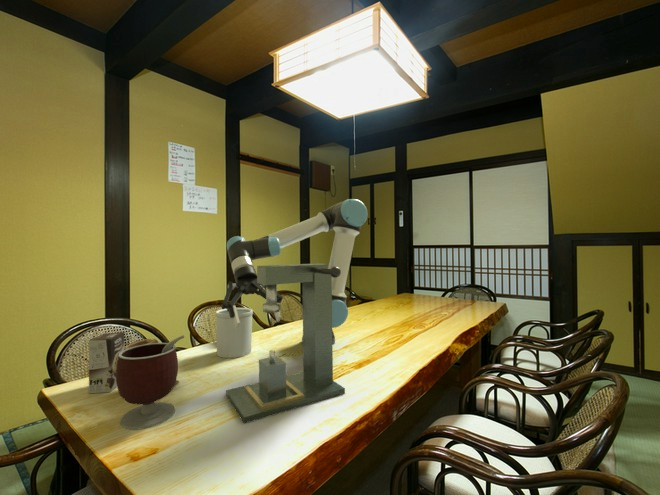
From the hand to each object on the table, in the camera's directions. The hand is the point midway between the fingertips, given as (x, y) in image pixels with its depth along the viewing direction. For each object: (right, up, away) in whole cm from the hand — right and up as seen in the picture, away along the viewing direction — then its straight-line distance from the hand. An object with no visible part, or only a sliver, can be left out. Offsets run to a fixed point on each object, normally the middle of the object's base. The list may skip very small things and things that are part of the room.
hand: (259, 322), depth 102 cm
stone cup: (-34, -20, -2) cm, 39 cm away
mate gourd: (-24, -20, -18) cm, 36 cm away
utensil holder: (-17, -20, +32) cm, 41 cm away
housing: (+6, -18, -9) cm, 21 cm away
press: (+11, -19, -11) cm, 25 cm away
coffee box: (-48, -20, 0) cm, 52 cm away
